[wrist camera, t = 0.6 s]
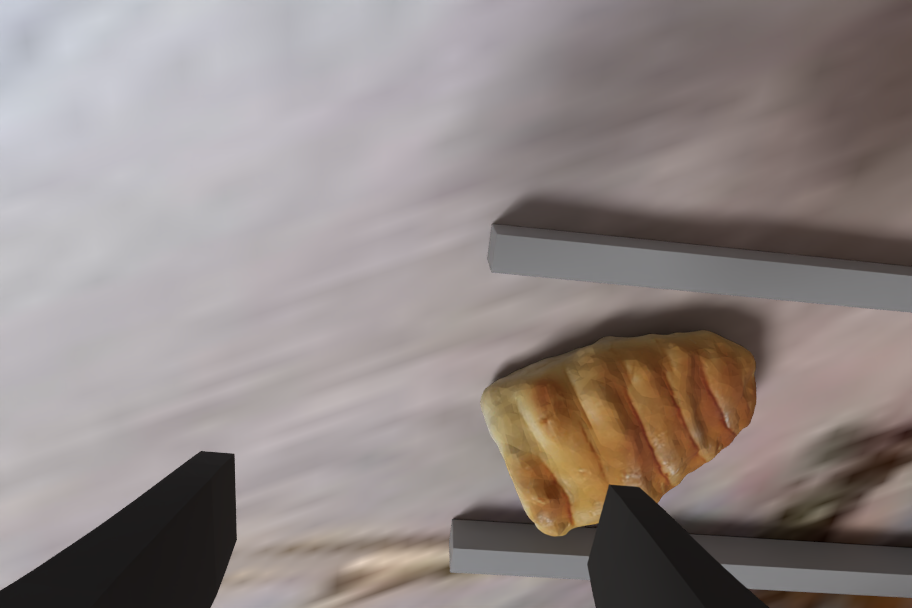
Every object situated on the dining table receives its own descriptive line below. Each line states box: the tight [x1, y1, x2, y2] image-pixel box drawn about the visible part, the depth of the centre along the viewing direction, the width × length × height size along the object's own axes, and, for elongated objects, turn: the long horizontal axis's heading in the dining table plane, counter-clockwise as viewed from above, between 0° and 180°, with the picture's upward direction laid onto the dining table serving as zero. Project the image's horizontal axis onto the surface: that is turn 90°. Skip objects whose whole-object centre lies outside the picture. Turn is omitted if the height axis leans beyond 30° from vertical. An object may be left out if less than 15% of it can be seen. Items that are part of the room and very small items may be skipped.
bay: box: [449, 224, 912, 598], centre depth 19 cm, size 13×23×3 cm, turn 84°
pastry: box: [480, 330, 756, 536], centre depth 18 cm, size 9×7×4 cm
